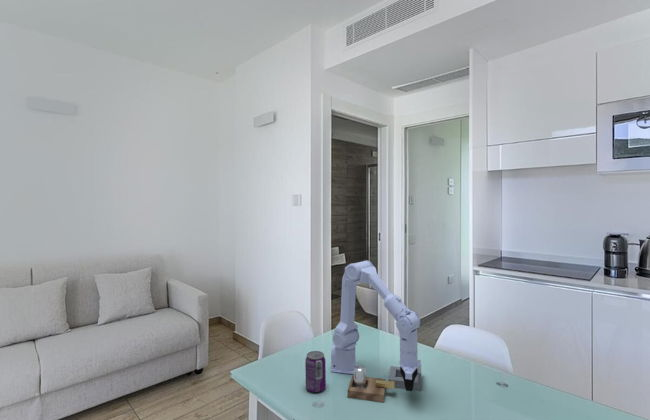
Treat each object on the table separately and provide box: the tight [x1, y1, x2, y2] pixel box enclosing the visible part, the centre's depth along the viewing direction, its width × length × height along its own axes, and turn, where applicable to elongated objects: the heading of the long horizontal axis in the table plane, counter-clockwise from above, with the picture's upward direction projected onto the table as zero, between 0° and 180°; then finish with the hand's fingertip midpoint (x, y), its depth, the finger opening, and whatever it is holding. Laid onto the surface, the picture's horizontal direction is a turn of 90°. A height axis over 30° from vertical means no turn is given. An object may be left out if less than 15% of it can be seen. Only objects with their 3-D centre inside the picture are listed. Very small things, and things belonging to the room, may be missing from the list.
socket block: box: [347, 374, 387, 403], centre depth 115 cm, size 12×10×2 cm
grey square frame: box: [388, 359, 423, 391], centre depth 121 cm, size 11×10×6 cm
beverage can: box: [304, 350, 327, 393], centre depth 117 cm, size 7×7×12 cm
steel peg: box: [353, 364, 367, 389], centre depth 115 cm, size 4×4×8 cm
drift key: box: [376, 380, 395, 390], centre depth 113 cm, size 6×3×1 cm, turn 76°
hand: (409, 389), depth 111 cm, fingers closed
